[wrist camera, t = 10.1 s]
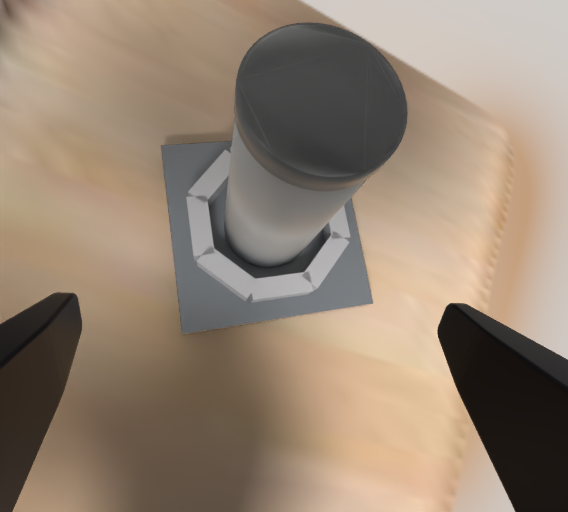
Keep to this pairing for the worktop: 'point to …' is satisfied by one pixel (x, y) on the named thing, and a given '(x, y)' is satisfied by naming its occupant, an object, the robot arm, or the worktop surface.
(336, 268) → the ring socket board
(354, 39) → the canister
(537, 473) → the robot arm
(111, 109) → the worktop surface
